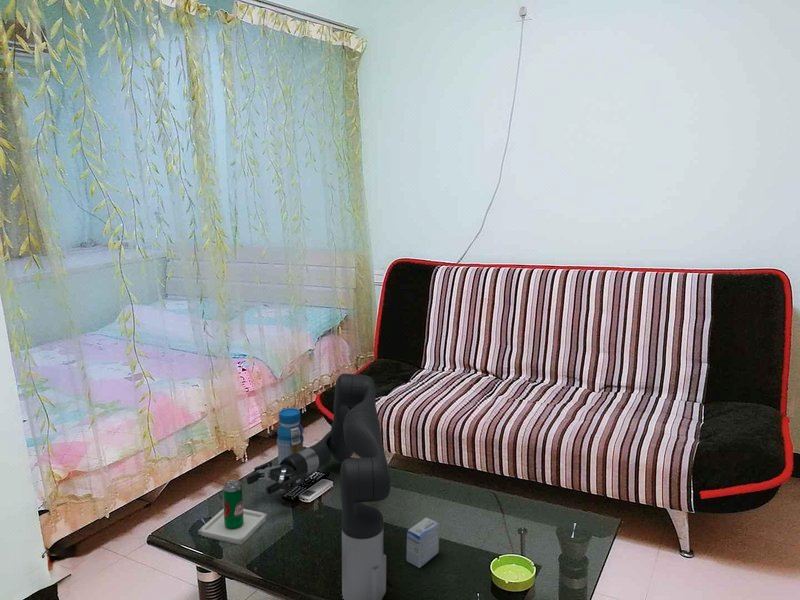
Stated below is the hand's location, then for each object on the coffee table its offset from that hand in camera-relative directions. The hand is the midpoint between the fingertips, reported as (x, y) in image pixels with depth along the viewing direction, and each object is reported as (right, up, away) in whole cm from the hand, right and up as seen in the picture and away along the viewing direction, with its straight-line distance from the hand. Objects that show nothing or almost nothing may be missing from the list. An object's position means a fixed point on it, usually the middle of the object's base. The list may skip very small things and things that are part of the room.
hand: (257, 486), depth 167 cm
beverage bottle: (+5, -3, +27) cm, 28 cm away
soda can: (-5, -9, -5) cm, 11 cm away
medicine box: (+46, -13, -17) cm, 50 cm away
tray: (-5, -9, -5) cm, 12 cm away
